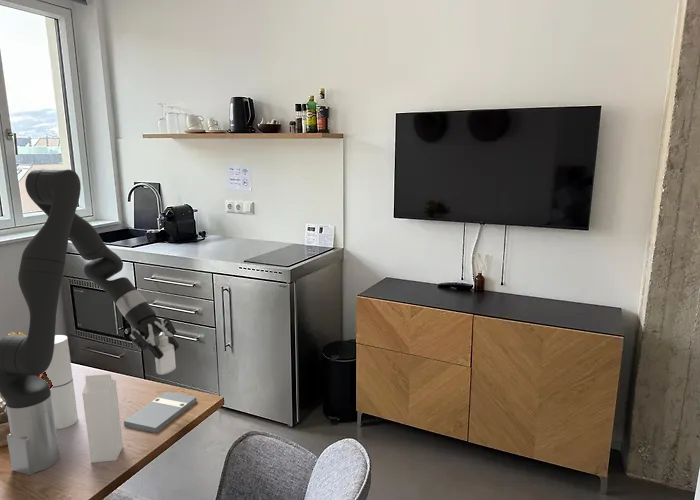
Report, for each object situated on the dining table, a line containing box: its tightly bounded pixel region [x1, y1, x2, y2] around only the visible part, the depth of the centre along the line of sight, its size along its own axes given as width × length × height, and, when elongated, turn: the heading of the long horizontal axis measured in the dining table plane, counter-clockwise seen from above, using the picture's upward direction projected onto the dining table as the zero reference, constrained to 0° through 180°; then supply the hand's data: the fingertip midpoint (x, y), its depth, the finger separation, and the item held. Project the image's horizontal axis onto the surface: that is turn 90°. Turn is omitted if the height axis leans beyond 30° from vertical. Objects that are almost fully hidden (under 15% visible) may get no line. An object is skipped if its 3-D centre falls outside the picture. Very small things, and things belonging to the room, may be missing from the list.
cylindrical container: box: [45, 334, 79, 430], centre depth 138 cm, size 7×7×25 cm
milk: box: [81, 373, 124, 464], centre depth 123 cm, size 6×6×22 cm
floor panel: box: [123, 391, 197, 433], centre depth 145 cm, size 18×11×2 cm, turn 161°
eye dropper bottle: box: [154, 332, 177, 375], centre depth 145 cm, size 4×6×12 cm
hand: (169, 353), depth 144 cm, fingers closed on eye dropper bottle, 5 cm apart
